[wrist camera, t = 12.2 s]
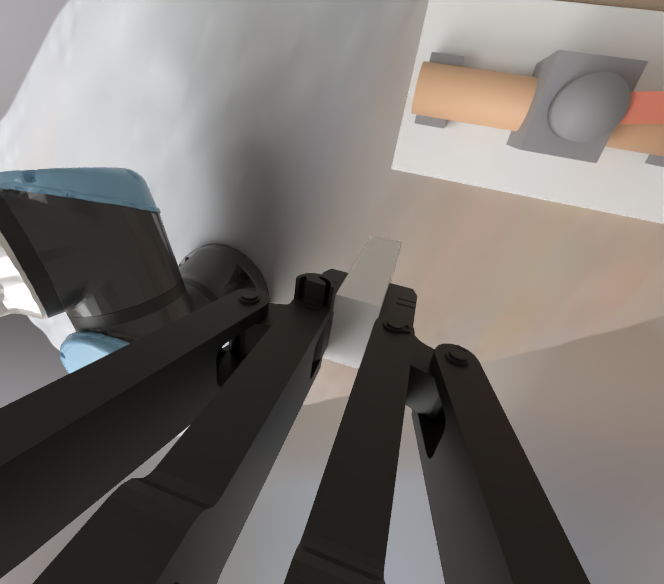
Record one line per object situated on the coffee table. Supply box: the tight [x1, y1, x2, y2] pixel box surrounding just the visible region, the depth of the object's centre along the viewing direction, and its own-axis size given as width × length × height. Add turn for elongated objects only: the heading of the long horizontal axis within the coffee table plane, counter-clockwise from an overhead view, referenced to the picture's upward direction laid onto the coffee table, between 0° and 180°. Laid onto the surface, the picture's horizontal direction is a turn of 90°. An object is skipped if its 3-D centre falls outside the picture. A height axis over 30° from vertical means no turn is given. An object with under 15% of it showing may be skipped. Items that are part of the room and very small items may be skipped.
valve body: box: [391, 0, 664, 224], centre depth 30 cm, size 28×16×8 cm, turn 81°
